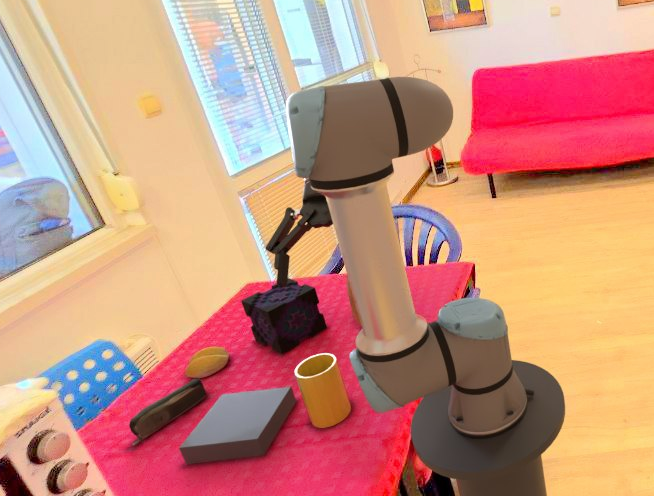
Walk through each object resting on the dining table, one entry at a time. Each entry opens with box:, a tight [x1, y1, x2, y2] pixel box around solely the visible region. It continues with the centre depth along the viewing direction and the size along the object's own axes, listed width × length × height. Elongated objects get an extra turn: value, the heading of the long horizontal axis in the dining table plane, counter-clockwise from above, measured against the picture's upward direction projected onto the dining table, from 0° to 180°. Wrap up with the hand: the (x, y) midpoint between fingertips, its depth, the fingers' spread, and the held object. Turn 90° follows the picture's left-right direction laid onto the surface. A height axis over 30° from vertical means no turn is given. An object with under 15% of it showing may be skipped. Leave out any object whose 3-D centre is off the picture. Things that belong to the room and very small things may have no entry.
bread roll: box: [184, 345, 230, 379], centre depth 122 cm, size 8×9×4 cm
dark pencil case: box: [128, 378, 208, 447], centre depth 106 cm, size 5×3×15 cm
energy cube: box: [240, 277, 328, 355], centre depth 130 cm, size 12×12×12 cm
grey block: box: [178, 386, 297, 465], centre depth 101 cm, size 14×14×4 cm
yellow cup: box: [294, 352, 352, 429], centre depth 102 cm, size 7×7×12 cm
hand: (316, 281), depth 105 cm, fingers open, 13 cm apart
